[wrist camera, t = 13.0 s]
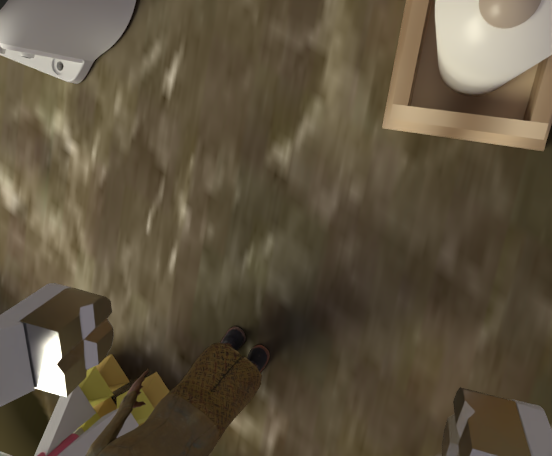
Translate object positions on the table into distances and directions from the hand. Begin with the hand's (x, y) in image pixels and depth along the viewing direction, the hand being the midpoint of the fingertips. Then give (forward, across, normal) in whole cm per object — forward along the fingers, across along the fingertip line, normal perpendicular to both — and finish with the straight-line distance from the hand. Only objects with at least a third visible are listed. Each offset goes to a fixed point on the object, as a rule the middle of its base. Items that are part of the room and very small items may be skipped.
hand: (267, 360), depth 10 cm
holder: (+29, -6, -6) cm, 30 cm away
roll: (+27, -6, -6) cm, 29 cm away
